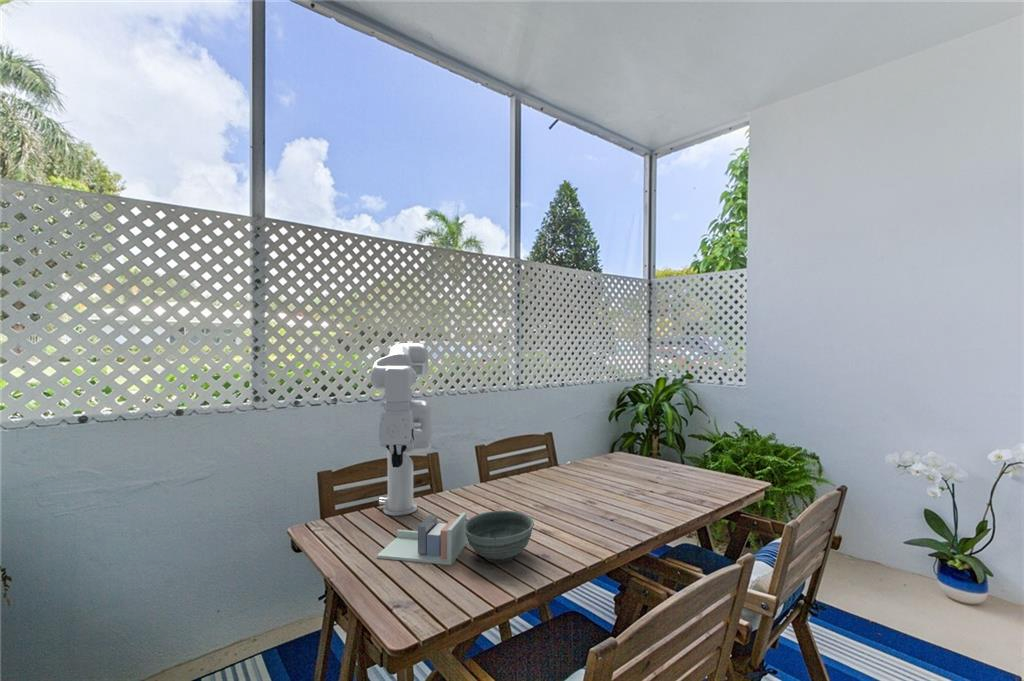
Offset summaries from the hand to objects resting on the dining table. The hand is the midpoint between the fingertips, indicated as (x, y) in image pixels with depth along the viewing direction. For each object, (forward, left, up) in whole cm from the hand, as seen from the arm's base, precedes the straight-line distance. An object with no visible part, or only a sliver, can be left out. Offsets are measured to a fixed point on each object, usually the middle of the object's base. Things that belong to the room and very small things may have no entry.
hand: (397, 466), depth 137 cm
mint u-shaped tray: (+8, 0, -25) cm, 27 cm away
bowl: (+32, +1, -25) cm, 41 cm away
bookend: (+10, 0, -24) cm, 26 cm away
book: (+14, 0, -24) cm, 28 cm away
